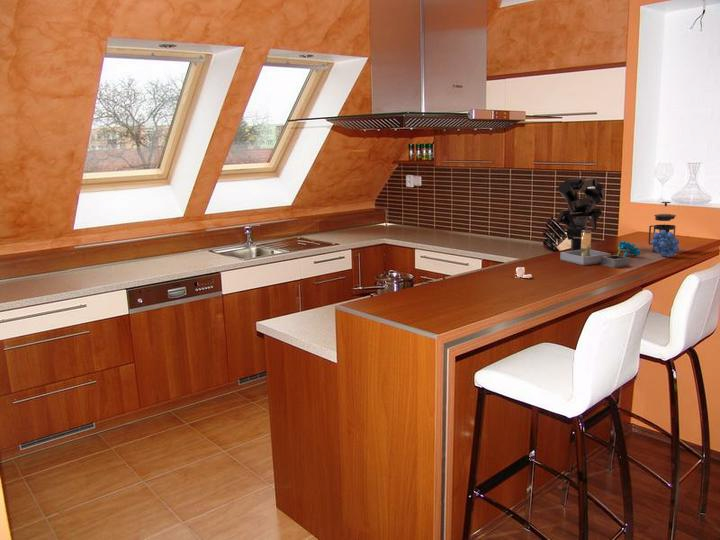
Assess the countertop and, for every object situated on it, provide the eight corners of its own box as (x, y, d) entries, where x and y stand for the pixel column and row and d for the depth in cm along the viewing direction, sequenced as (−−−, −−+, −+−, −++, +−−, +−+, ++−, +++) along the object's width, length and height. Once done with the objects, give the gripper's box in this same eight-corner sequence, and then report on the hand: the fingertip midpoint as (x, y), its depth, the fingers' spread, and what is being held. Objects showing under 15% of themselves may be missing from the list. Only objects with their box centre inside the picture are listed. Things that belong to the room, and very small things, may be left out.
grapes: (647, 257, 270) (648, 230, 267) (652, 254, 274) (653, 228, 272) (675, 259, 262) (677, 232, 259) (680, 257, 267) (682, 230, 264)
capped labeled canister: (578, 259, 269) (579, 230, 266) (585, 258, 271) (586, 229, 268) (584, 260, 266) (585, 231, 263) (592, 259, 267) (593, 230, 264)
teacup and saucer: (534, 279, 238) (534, 269, 238) (514, 281, 238) (514, 270, 237) (527, 275, 247) (527, 265, 246) (508, 276, 247) (508, 266, 246)
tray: (560, 259, 272) (560, 252, 272) (586, 256, 277) (587, 248, 277) (583, 265, 259) (583, 257, 258) (610, 261, 264) (611, 253, 263)
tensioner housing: (601, 264, 258) (601, 256, 257) (615, 262, 261) (615, 255, 260) (614, 267, 251) (614, 259, 250) (628, 265, 254) (629, 257, 253)
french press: (678, 250, 281) (681, 201, 276) (672, 254, 274) (675, 203, 270) (651, 248, 289) (654, 200, 284) (645, 251, 282) (647, 202, 277)
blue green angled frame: (645, 253, 269) (632, 239, 266) (639, 264, 268) (625, 249, 265) (627, 253, 280) (614, 239, 277) (620, 263, 278) (607, 249, 276)
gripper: (561, 192, 267) (572, 220, 258) (600, 189, 269) (613, 217, 261) (552, 208, 276) (563, 235, 268) (590, 206, 279) (602, 233, 270)
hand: (585, 230), depth 266 cm, fingers open, 9 cm apart
